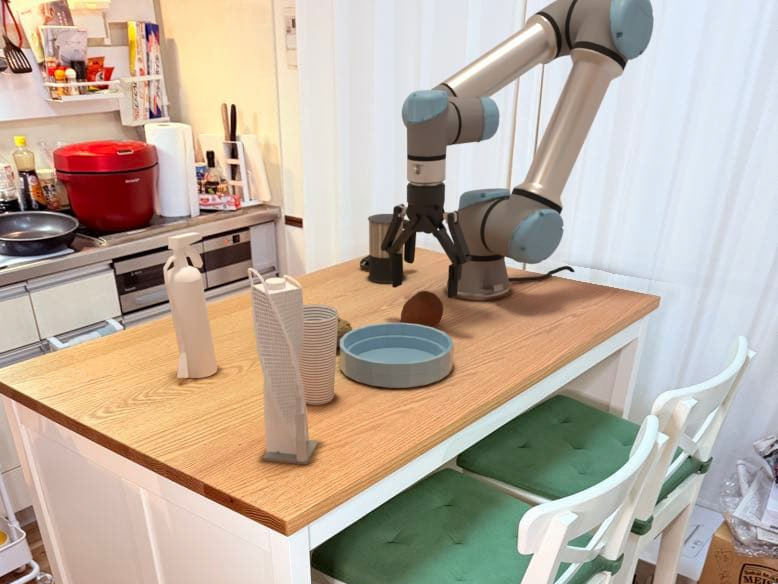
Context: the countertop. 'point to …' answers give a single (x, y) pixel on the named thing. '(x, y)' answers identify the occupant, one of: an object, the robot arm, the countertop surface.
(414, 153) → the robot arm
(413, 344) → the bowl
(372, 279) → the milk frother
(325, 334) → the cup
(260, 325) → the skyscraper
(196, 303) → the fire extinguisher
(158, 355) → the countertop surface
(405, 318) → the potato
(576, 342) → the countertop surface
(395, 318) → the countertop surface
